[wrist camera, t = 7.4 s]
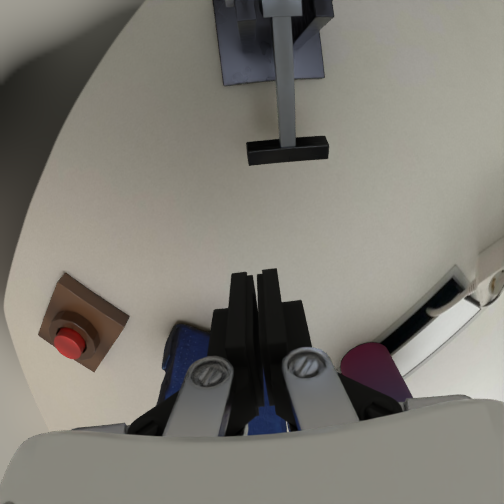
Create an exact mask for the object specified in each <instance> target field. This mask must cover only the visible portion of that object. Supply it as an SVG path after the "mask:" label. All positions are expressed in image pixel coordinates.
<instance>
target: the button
mask: <svg viewBox="0 0 504 504" xmlns="http://www.w3.org/2000/svg"><path fill="white" fill-rule="evenodd" d="M54 344H55V347H56V348H57V350H58V351H59V352H60V353H61V354H62V355H64V356H65V357H67V358H70V359H78V358H79V357H80V356H81V354H82V352H83V350H84V348H85V340H84V339H83V337H82V336H81V335H80V334H79V333H78V332H76V331H75V330H73V329H71V328H67V327H64V328H62V329H60V331H59V332H58V334H57V335H56V337H55V339H54Z"/></svg>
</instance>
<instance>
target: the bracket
mask: <svg viewBox="0 0 504 504" xmlns="http://www.w3.org/2000/svg"><path fill="white" fill-rule="evenodd" d="M332 1H333V0H302V7H303V16H291V23H292V41H293V63H294V80H297V79H322V78H325V75H324V65H323V56H322V48H321V40H320V32H319V30H320V29H321V28H322V27H324V26H325V25H326V24H327V23H328V22H329V21H330V20H331V19H332V18H334V11H333V5H332ZM213 6H214V14H215V22H216V30H217V38H218V46H219V54H220V62H221V70H222V78H223V85H224V86H231V85H239V84H248V83H258V82H268V81H275V68H274V55H273V42H272V30H271V19H270V17H269V18H263V16H262V14H261V12H260V10H259V0H213Z"/></svg>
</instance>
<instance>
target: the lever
mask: <svg viewBox="0 0 504 504" xmlns="http://www.w3.org/2000/svg"><path fill="white" fill-rule="evenodd" d="M259 10H260V12H261V14H262V16H263V18H269V17H270V19H271V30H272V42H273V55H274V68H275V81H276V96H277V111H278V128H279V139H273V140H263V141H253V142H247V143H246V147H247V156H248V164H249V166H251V165H261V164H271V163H281V162H293V161H305V160H319V159H328V154H329V144H328V142H327V139H326V137H325V136H312V137H297V138H296V129H295V90H294V63H293V41H292V23H291V16H303V7H302V0H259Z"/></svg>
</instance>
